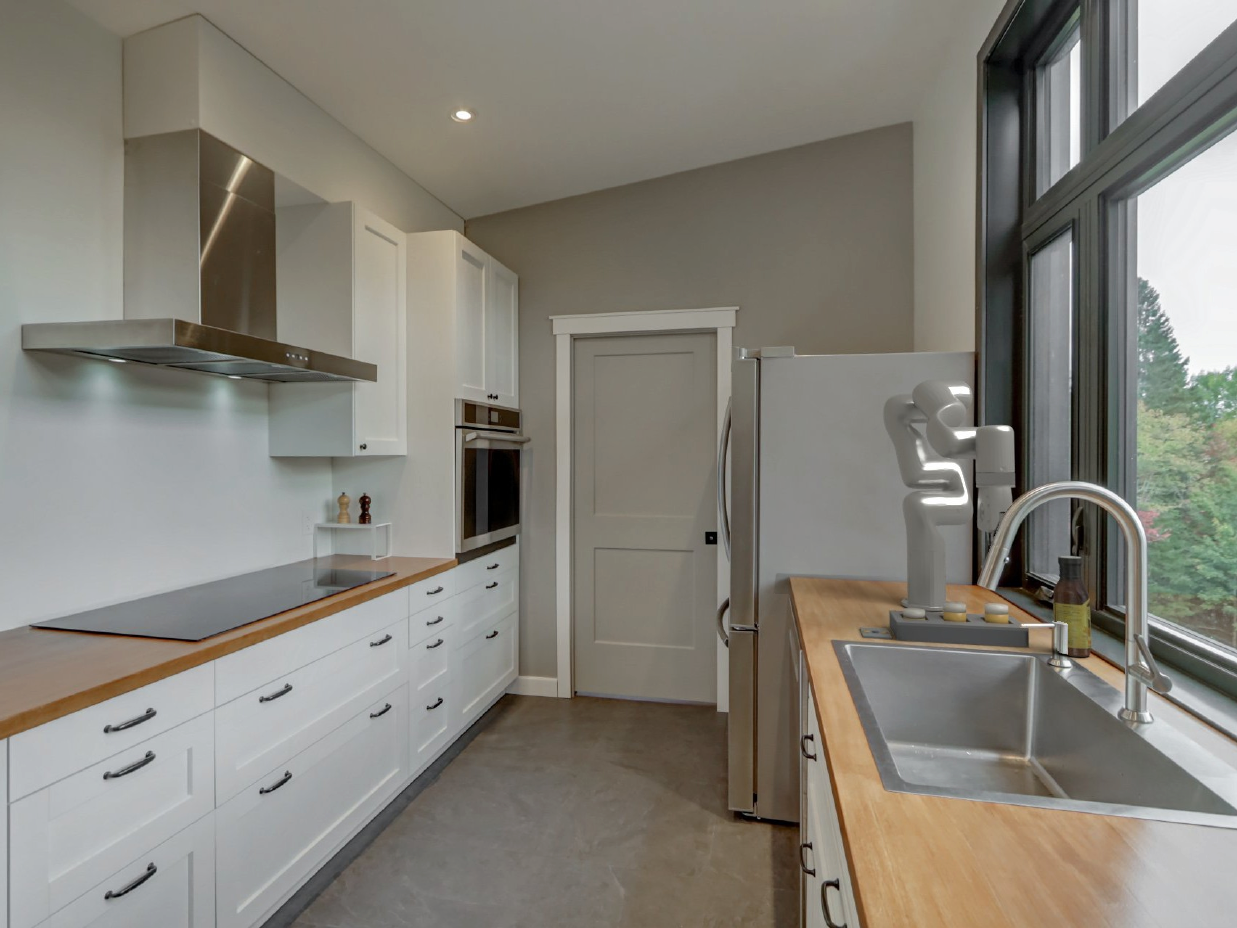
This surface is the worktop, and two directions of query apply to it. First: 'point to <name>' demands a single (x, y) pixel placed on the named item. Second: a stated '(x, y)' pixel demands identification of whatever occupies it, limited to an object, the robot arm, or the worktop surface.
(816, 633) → the worktop surface
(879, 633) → the card
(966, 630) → the button board
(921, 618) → the button
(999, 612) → the button
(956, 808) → the worktop surface
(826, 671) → the worktop surface
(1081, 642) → the sauce bottle
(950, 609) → the button middle
